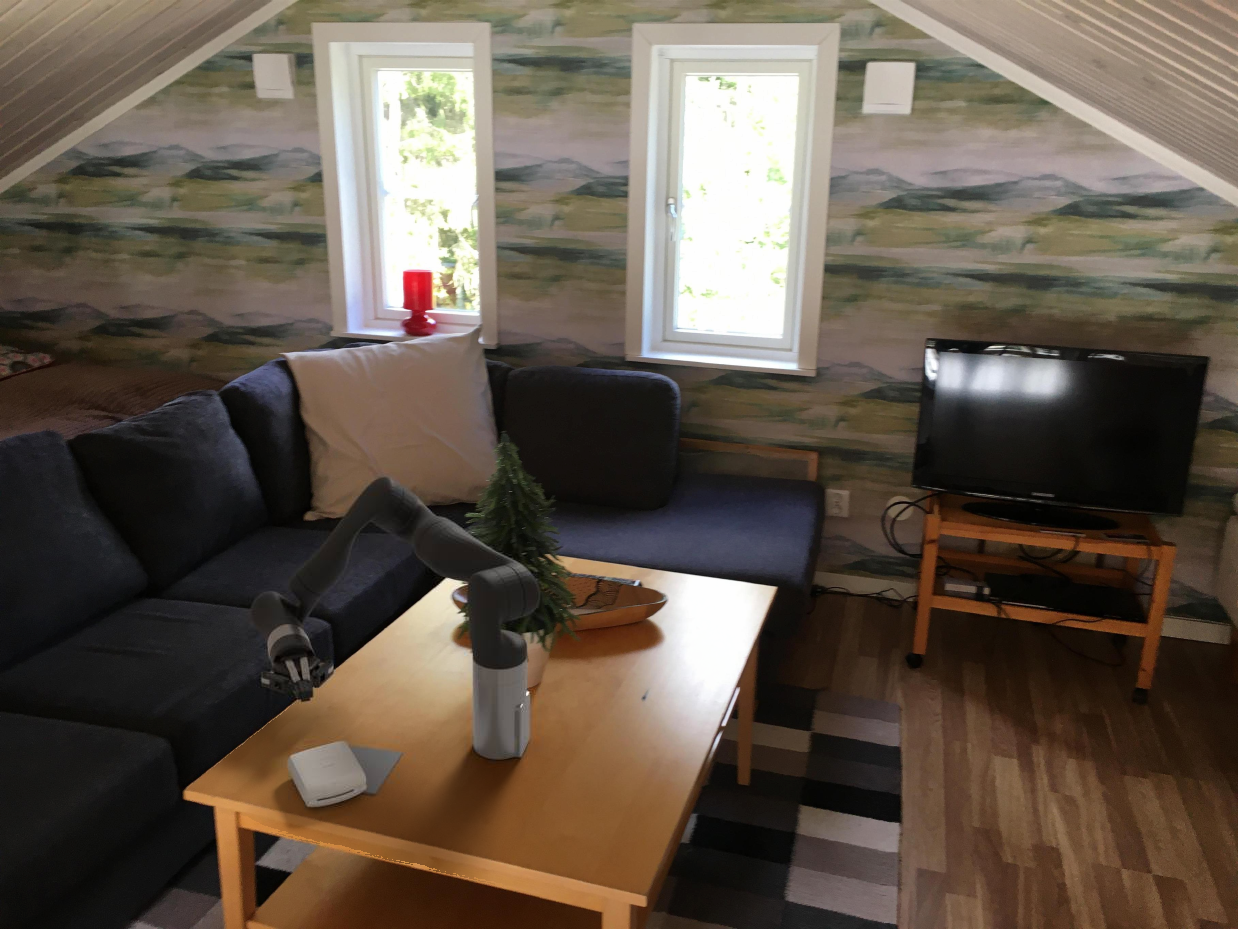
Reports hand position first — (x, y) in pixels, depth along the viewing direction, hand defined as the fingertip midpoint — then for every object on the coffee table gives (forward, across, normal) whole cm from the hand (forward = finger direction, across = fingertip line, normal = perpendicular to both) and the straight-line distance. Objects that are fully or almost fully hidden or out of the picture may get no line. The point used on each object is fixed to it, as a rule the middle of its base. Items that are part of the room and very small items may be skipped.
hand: (306, 696), depth 174 cm
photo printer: (+7, 0, +7) cm, 10 cm away
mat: (+10, +6, +9) cm, 15 cm away
